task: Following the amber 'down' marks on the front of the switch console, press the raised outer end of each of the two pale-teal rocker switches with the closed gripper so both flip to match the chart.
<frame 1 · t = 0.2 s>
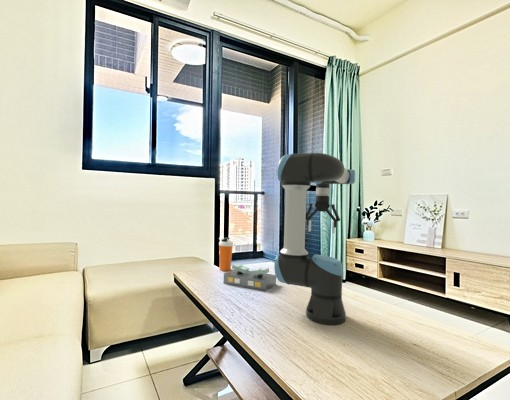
hand: (321, 232, 159), 28 cm above the table, fingers open, 13 cm apart
switch a: (260, 271, 146), point 8 cm above the table, hinge at -12.0°
switch b: (240, 268, 151), point 8 cm above the table, hinge at 12.0°
shaker bottle: (225, 269, 177), on the table
console: (249, 283, 149), on the table
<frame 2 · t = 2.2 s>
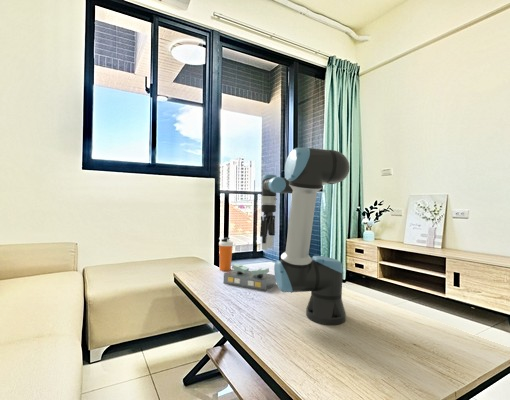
hand: (267, 248, 145), 20 cm above the table, fingers open, 6 cm apart
nothing on the table moved.
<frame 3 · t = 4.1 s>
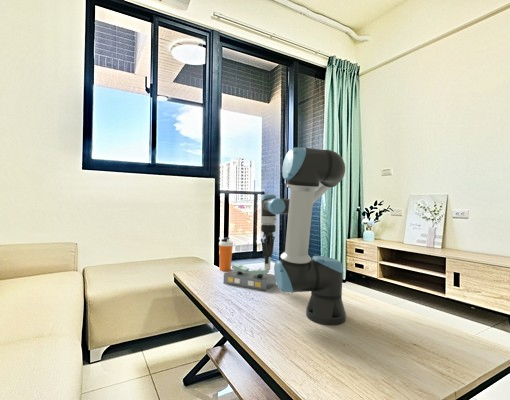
hand: (267, 269, 144), 9 cm above the table, fingers closed
switch a: (260, 271, 146), point 8 cm above the table, hinge at -9.6°, touching gripper
everything else where it was.
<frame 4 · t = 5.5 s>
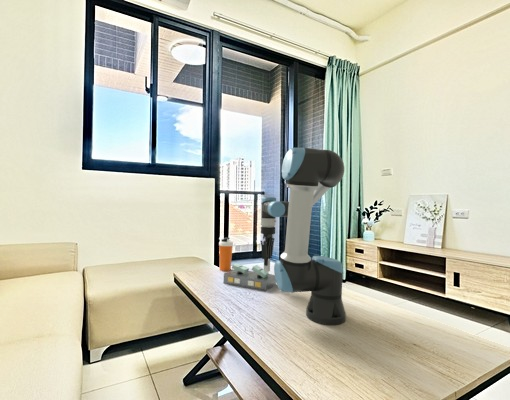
hand: (266, 271, 145), 8 cm above the table, fingers closed, pressing on switch a
switch a: (260, 271, 146), point 8 cm above the table, hinge at 23.5°, touching console, gripper
everything else where it was.
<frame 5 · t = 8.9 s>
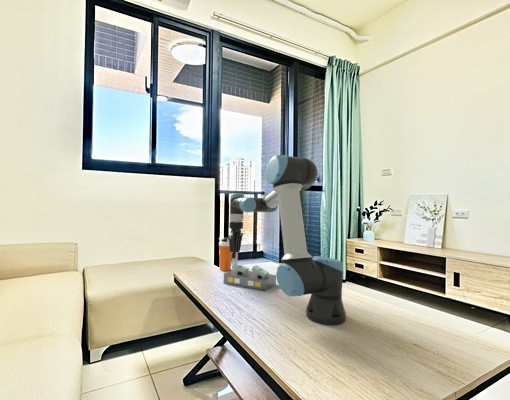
hand: (234, 263, 153), 9 cm above the table, fingers closed
switch a: (260, 271, 146), point 8 cm above the table, hinge at 20.9°
switch b: (240, 268, 151), point 8 cm above the table, hinge at 11.1°, touching gripper
everything else where it was.
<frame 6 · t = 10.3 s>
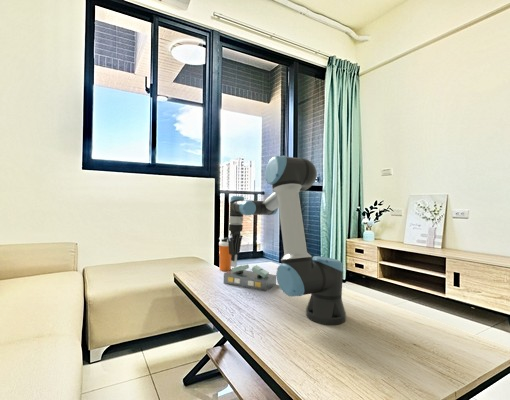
hand: (233, 266, 153), 8 cm above the table, fingers closed
switch b: (240, 268, 151), point 8 cm above the table, hinge at -17.2°, touching gripper
everything else where it was.
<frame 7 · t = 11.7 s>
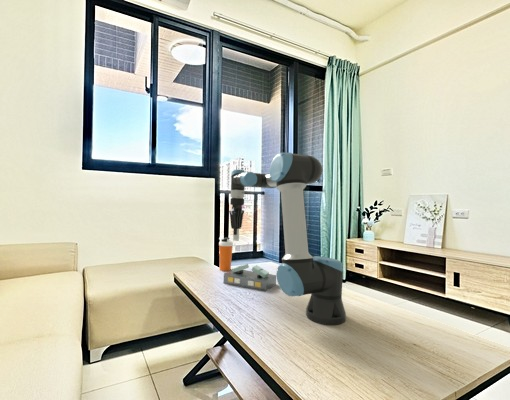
hand: (235, 240, 153), 22 cm above the table, fingers closed
switch b: (240, 268, 151), point 8 cm above the table, hinge at -22.8°
everything else where it was.
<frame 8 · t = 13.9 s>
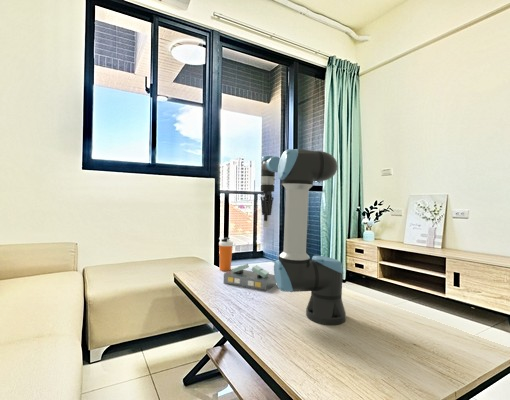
hand: (266, 226, 154), 30 cm above the table, fingers closed
switch b: (240, 268, 151), point 8 cm above the table, hinge at -23.4°, touching console
everything else where it was.
at the end: switch a at +21° (first picture: -12°); switch b at -23° (first picture: +12°) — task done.
